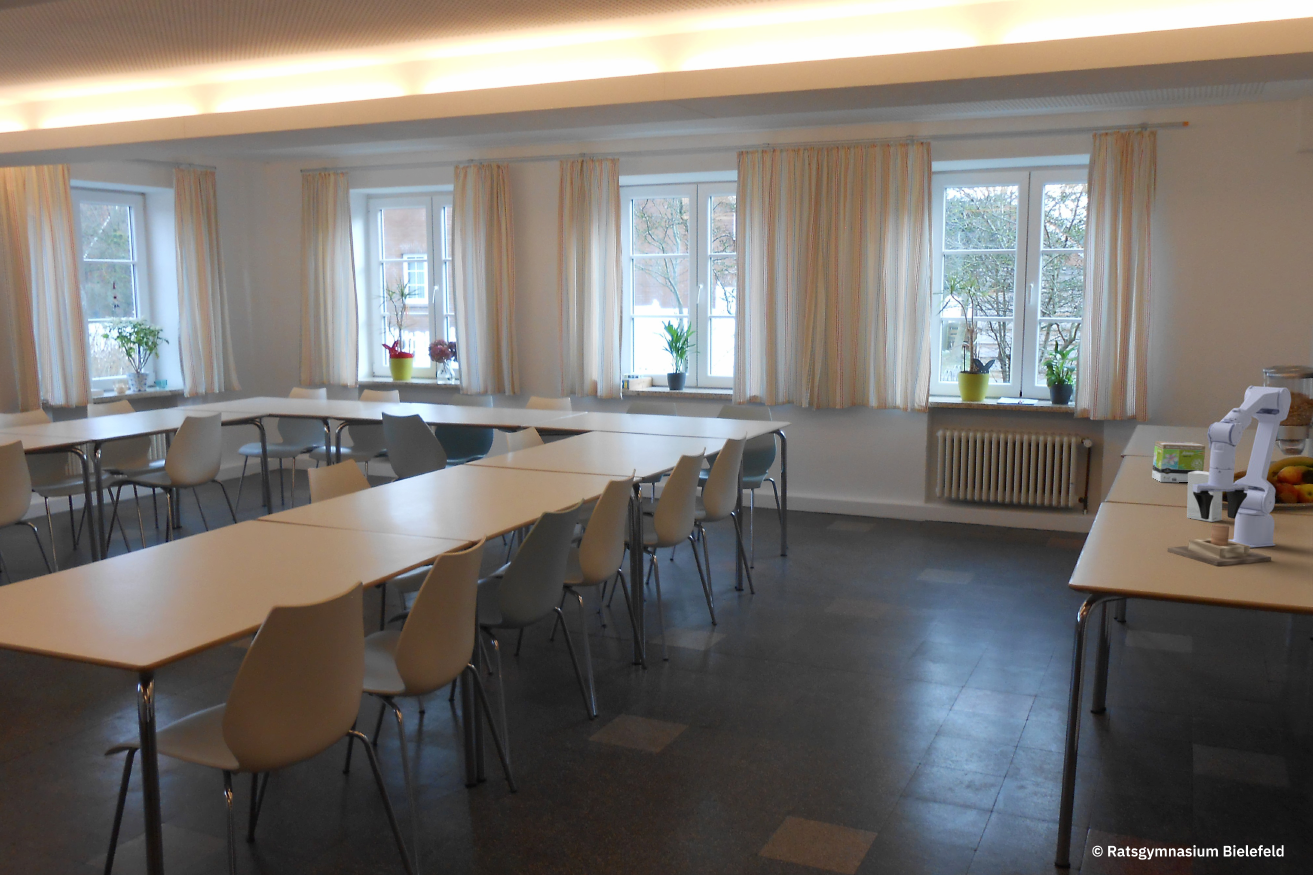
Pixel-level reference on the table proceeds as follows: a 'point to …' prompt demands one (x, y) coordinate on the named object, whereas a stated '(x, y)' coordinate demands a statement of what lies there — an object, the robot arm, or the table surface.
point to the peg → (1219, 535)
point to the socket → (1219, 553)
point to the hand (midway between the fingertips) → (1218, 518)
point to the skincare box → (1192, 504)
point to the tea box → (1177, 460)
